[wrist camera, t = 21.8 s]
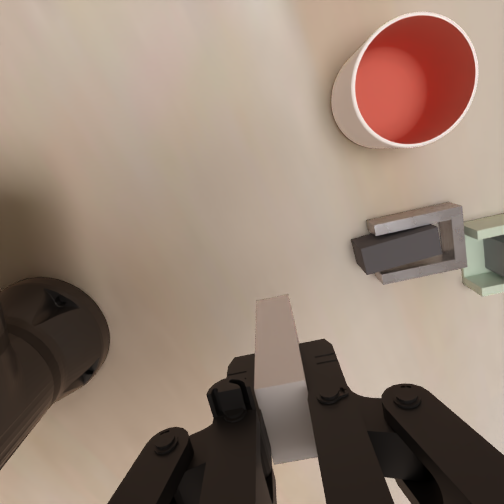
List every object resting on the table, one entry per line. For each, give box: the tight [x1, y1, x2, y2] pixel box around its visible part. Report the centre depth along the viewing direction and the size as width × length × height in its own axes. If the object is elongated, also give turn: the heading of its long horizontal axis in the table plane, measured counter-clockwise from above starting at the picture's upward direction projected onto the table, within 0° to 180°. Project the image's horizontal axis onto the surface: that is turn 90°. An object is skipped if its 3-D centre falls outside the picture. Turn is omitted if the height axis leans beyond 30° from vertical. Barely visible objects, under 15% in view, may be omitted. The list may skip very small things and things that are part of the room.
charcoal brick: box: [351, 224, 442, 275], centre depth 41 cm, size 8×3×4 cm, turn 107°
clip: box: [366, 202, 467, 285], centre depth 41 cm, size 9×7×3 cm
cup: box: [331, 12, 478, 148], centre depth 34 cm, size 10×10×10 cm
